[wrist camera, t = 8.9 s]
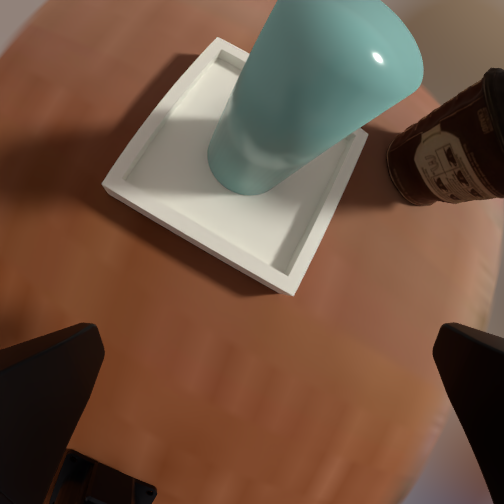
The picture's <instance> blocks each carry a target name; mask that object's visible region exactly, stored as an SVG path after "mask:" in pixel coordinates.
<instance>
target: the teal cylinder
mask: <svg viewBox="0 0 504 504" xmlns="http://www.w3.org/2000/svg"><path fill="white" fill-rule="evenodd" d="M422 78H423V61H422V58H421V54H420V51H419V48H418V46H417V44H416V42H415V40H414V38H413V36H412V35H411V33H410V32H409V30H408V29H407V27H406V26H405V25H404V23H403V22H402V21H401V20H400V18H399V17H398V16H397V15H396V14H395V13H394V12H393V11H392V10H391V9H390V8H388V6H386V5H385V4H384V3H383V2H382V1H380V0H278V1H277V2H276V4H275V6H274V8H273V10H272V12H271V14H270V15H269V17H268V19H267V21H266V23H265V25H264V27H263V29H262V31H261V33H260V35H259V37H258V39H257V41H256V42H255V44H254V46H253V48H252V50H251V52H250V55H249V57H248V59H247V61H246V63H245V65H244V67H243V69H242V71H241V73H240V75H239V77H238V79H237V82H236V84H235V86H234V88H233V90H232V92H231V94H230V97H229V99H228V101H227V103H226V105H225V108H224V110H223V112H222V114H221V117H220V119H219V121H218V124H217V126H216V128H215V131H214V133H213V135H212V138H211V140H210V142H209V145H208V151H207V159H208V164H209V167H210V170H211V172H212V174H213V175H214V177H215V178H216V179H217V181H218V182H219V183H220V184H221V185H223V186H224V187H225V188H227V189H228V190H230V191H232V192H235V193H237V194H241V195H248V196H253V195H259V194H263V193H265V192H268V191H269V190H271V189H272V188H274V187H275V186H277V185H278V184H279V183H281V182H282V181H284V180H285V179H286V178H288V177H289V176H291V175H292V174H293V173H295V172H296V171H298V170H299V169H301V168H302V167H303V166H305V165H306V164H308V163H309V162H311V161H312V160H313V159H315V158H316V157H318V156H319V155H321V154H322V153H324V152H325V151H326V150H328V149H329V148H331V147H332V146H334V145H335V144H337V143H338V142H340V141H341V140H342V139H344V138H345V137H347V136H348V135H350V134H351V133H353V132H354V131H356V130H357V129H359V128H360V127H362V126H363V125H365V124H366V123H368V122H369V121H371V120H372V119H374V118H375V117H377V116H378V115H380V114H381V113H383V112H384V111H386V110H387V109H389V108H390V107H392V106H393V105H395V104H397V103H398V102H400V101H401V100H403V99H404V98H406V97H407V96H409V95H410V94H412V93H413V92H415V91H416V90H417V89H418V87H419V86H420V84H421V82H422Z"/></svg>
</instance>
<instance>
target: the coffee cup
mask: <svg viewBox="0 0 504 504" xmlns="http://www.w3.org/2000/svg"><path fill="white" fill-rule="evenodd" d="M387 162H388V168H389V173H390V176H391V178H392V180H393V182H394V184H395V186H396V187H397V189H398V190H399V191H400V193H401V194H402V195H403V197H404V198H405V199H407V200H408V201H410V202H411V203H413V204H416V205H419V206H430V205H432V204H433V203H435V202H436V201H442V202H447V203H454V204H457V203H461V202H467V201H472V200H485V199H493V198H504V70H503V69H501V68H490V69H489V70H488V71H487V72H486V73H485V74H484V77H483V78H482V79H481V80H480V81H478V82H477V83H475V84H473V85H472V86H470V87H468V88H467V89H465V90H464V91H462V92H460V93H459V94H458V95H457V96H455V97H454V98H452V99H450V100H449V101H447V102H446V103H444V104H443V105H442V106H440V107H439V108H437V109H435V110H433V111H432V112H431V113H430V114H428V115H427V116H425V117H423V118H422V119H421V120H420V121H419V122H418V123H415V124H413V125H411V126H410V127H408V128H407V129H406V130H405V131H404V132H403V133H401V134H400V135H398V136H397V137H396V138H395V139H394V140H393V141H392V142H391V144H390V146H389V148H388V151H387Z"/></svg>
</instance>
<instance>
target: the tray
mask: <svg viewBox="0 0 504 504" xmlns="http://www.w3.org/2000/svg"><path fill="white" fill-rule="evenodd" d="M249 55H250V54H249V53H247V52H245V51H243V50H241V49H240V48H238V47H236V46H234V45H232V44H230V43H228V42H226V41H224V40H223V39H221V38H219V37H217V38H216V39H215V40H214V41H213V42H212V43H211V44H210V45H209V46H208V47H207V48H206V49H205V51H204V52H203V53H202V54H201V55H200V56H199V57H198V58H197V59H196V60H195V61H194V63H193V64H192V65H191V66H190V67H189V68H188V69H187V70H186V71H185V73H184V74H183V75H182V76H181V77H180V78H179V80H178V81H177V82H176V83H175V84H174V85H173V87H172V88H171V89H170V90H169V91H168V93H167V94H166V95H165V96H164V98H163V99H162V100H161V101H160V103H159V104H158V105H157V106H156V108H155V109H154V110H153V111H152V113H151V114H150V115H149V117H148V118H147V119H146V120H145V122H144V123H143V124H142V126H141V127H140V128H139V130H138V131H137V133H136V134H135V135H134V137H133V138H132V139H131V141H130V142H129V144H128V145H127V146H126V148H125V149H124V151H123V152H122V154H121V155H120V157H119V158H118V159H117V161H116V162H115V164H114V165H113V167H112V168H111V170H110V171H109V173H108V174H107V176H106V178H105V179H104V181H103V182H102V186H103V187H104V189H105V190H106V192H107V193H108V194H109V195H111V196H113V197H114V198H116V199H118V200H119V201H121V202H123V203H124V204H126V205H128V206H129V207H131V208H133V209H134V210H136V211H138V212H139V213H141V214H143V215H144V216H146V217H148V218H149V219H151V220H153V221H154V222H156V223H158V224H159V225H161V226H163V227H165V228H166V229H168V230H170V231H171V232H173V233H175V234H176V235H178V236H180V237H182V238H183V239H185V240H187V241H188V242H190V243H192V244H194V245H195V246H197V247H199V248H200V249H202V250H204V251H206V252H207V253H209V254H211V255H213V256H214V257H216V258H218V259H220V260H221V261H223V262H225V263H226V264H228V265H230V266H232V267H233V268H235V269H237V270H239V271H240V272H242V273H244V274H246V275H247V276H249V277H251V278H253V279H255V280H256V281H258V282H260V283H262V284H263V285H265V286H267V287H269V288H270V289H272V290H274V291H276V292H278V293H279V294H284V295H290V296H294V294H295V292H296V290H297V288H298V286H299V284H300V282H301V280H302V278H303V276H304V274H305V272H306V270H307V268H308V266H309V264H310V262H311V260H312V258H313V256H314V254H315V252H316V250H317V248H318V246H319V244H320V242H321V239H322V237H323V235H324V233H325V231H326V229H327V227H328V225H329V223H330V220H331V218H332V216H333V214H334V212H335V210H336V207H337V205H338V203H339V201H340V199H341V196H342V194H343V192H344V190H345V188H346V185H347V183H348V181H349V179H350V176H351V174H352V172H353V170H354V167H355V165H356V163H357V160H358V158H359V156H360V154H361V151H362V149H363V147H364V144H365V142H366V139H367V137H368V135H369V134H368V133H366V132H365V131H364V130H362V129H361V128H359V129H357V130H356V131H354V132H353V133H351V134H350V135H348V136H347V137H345V138H344V139H342V140H341V141H340V142H338V143H337V144H335V145H334V146H332V147H331V148H329V149H328V150H326V151H325V152H324V153H322V154H321V155H319V156H318V157H316V158H315V159H313V160H312V161H311V162H309V163H308V164H306V165H305V166H303V167H302V168H301V169H299V170H298V171H296V172H295V173H293V174H292V175H291V176H289V177H288V178H286V179H285V180H284V181H282V182H281V183H279V184H278V185H277V186H275V187H274V188H272V189H271V190H269V191H268V192H265V193H263V194H259V195H253V196H248V195H241V194H237V193H235V192H232V191H230V190H228V189H227V188H225V187H224V186H223V185H221V184H220V183H219V182H218V181H217V179H216V178H215V177H214V175H213V174H212V172H211V170H210V167H209V164H208V159H207V151H208V145H209V142H210V140H211V138H212V135H213V133H214V131H215V128H216V126H217V124H218V121H219V119H220V117H221V114H222V112H223V110H224V108H225V105H226V103H227V101H228V99H229V97H230V94H231V92H232V90H233V88H234V86H235V84H236V82H237V79H238V77H239V75H240V73H241V71H242V69H243V67H244V65H245V63H246V61H247V59H248V57H249Z"/></svg>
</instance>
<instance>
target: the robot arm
mask: <svg viewBox="0 0 504 504" xmlns="http://www.w3.org/2000/svg"><path fill="white" fill-rule="evenodd" d="M104 355H105V351H104V346H103V343H102V340H101V337H100V334H99V331H98V328H97V326H96V325H95V324H92V323H79V324H76V325H73V326H70V327H67V328H64V329H62V330H59V331H56V332H53V333H50V334H47V335H44V336H41V337H38V338H35V339H32V340H29V341H26V342H23V343H20V344H17V345H14V346H11V347H8V348H5V349H2V350H0V504H43V502H44V499H45V497H46V494H47V492H48V489H49V487H50V484H51V482H52V480H53V477H54V475H55V472H56V470H57V468H58V465H59V463H60V461H61V459H62V456H63V454H64V452H65V449H66V447H67V445H68V443H69V441H70V438H71V436H72V434H73V432H74V430H75V428H76V425H77V423H78V421H79V419H80V417H81V415H82V413H83V411H84V409H85V407H86V404H87V402H88V400H89V398H90V395H91V393H92V390H93V387H94V384H95V381H96V379H97V376H98V373H99V370H100V367H101V365H102V362H103V359H104ZM433 358H434V361H435V363H436V366H437V369H438V371H439V374H440V376H441V379H442V382H443V385H444V387H445V390H446V393H447V395H448V397H449V400H450V402H451V404H452V406H453V408H454V410H455V412H456V414H457V416H458V419H459V421H460V423H461V425H462V427H463V429H464V431H465V434H466V436H467V438H468V440H469V443H470V445H471V447H472V450H473V452H474V454H475V457H476V459H477V461H478V464H479V466H480V469H481V471H482V474H483V477H484V479H485V482H486V484H487V487H488V489H489V492H490V495H491V498H492V501H493V503H494V504H504V338H501V337H498V336H495V335H492V334H489V333H486V332H483V331H480V330H477V329H474V328H471V327H468V326H465V325H462V324H459V323H454V322H453V323H445V324H443V325H442V326H441V328H440V330H439V333H438V336H437V338H436V341H435V344H434V346H433ZM71 456H74V457H75V458H76V459H73V458H72V457H71ZM149 490H150V491H152V492H147V491H149ZM156 496H157V489H156V487H155V486H153V485H150V484H147V483H145V482H142V481H140V480H137V479H135V478H133V477H131V476H128V475H126V474H124V473H121V472H119V471H117V470H115V469H112V468H110V467H108V466H106V465H104V464H101V463H98V462H96V461H94V460H92V459H90V458H88V457H86V456H84V455H82V454H80V453H79V452H77V451H74V450H71V451H69V452H68V453H67V456H66V458H65V461H64V463H63V466H62V468H61V471H60V474H59V476H58V479H57V482H56V485H55V487H54V490H53V493H52V496H51V499H50V502H49V503H50V504H152V502H153V501H154V499H155V497H156Z"/></svg>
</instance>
